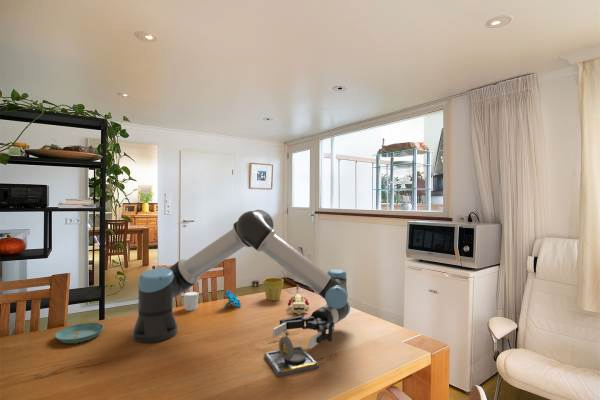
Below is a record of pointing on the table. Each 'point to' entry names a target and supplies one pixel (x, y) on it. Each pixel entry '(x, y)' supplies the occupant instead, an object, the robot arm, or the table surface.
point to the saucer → (85, 332)
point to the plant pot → (273, 288)
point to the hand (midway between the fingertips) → (290, 338)
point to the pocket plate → (289, 363)
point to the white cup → (191, 300)
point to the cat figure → (298, 303)
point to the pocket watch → (290, 350)
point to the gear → (232, 299)
